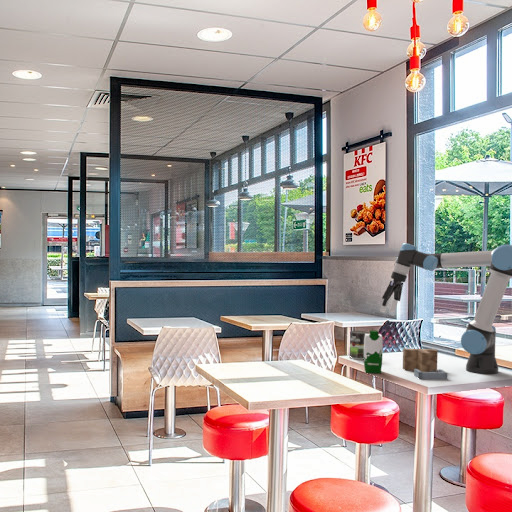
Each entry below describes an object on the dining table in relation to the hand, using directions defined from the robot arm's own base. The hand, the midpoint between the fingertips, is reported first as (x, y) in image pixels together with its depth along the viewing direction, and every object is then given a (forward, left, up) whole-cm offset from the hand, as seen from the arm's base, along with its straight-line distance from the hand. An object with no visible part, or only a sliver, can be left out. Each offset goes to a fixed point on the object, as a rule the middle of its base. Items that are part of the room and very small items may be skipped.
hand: (386, 311), depth 316 cm
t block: (-14, +16, -27) cm, 35 cm away
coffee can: (+11, -18, -27) cm, 34 cm away
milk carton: (+11, +20, -27) cm, 35 cm away
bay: (-14, +30, -27) cm, 43 cm away
